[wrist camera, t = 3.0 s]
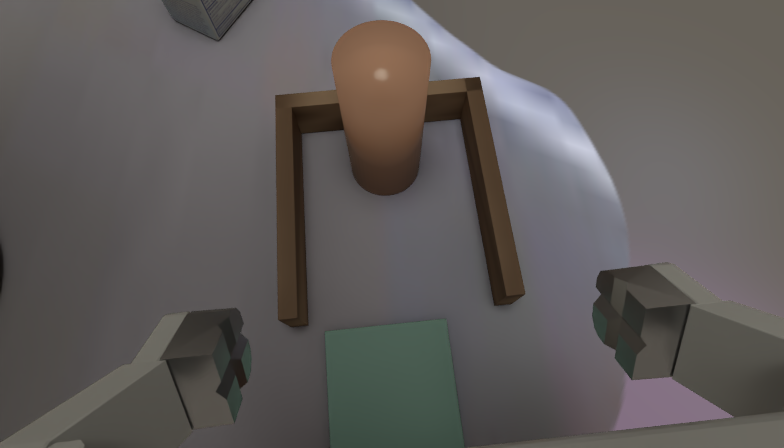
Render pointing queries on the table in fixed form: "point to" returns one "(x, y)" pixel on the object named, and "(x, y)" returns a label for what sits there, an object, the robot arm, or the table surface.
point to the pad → (392, 387)
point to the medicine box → (206, 14)
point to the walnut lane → (325, 115)
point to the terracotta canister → (382, 102)
